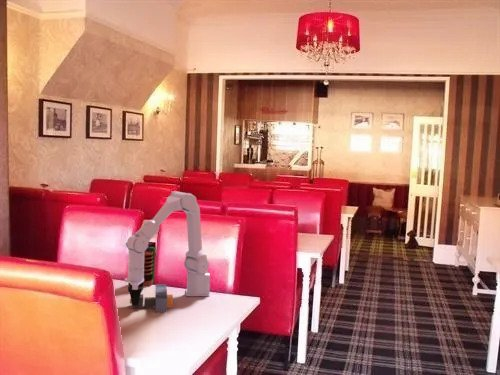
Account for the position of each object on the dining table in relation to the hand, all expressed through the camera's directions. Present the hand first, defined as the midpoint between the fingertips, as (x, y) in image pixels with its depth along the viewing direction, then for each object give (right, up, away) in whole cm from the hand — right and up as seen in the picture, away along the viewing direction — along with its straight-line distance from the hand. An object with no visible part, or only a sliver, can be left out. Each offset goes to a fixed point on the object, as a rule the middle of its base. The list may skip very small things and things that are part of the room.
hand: (135, 303), depth 181 cm
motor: (-4, +1, +30) cm, 30 cm away
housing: (+9, -2, +2) cm, 10 cm away
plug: (+6, -2, +1) cm, 6 cm away
